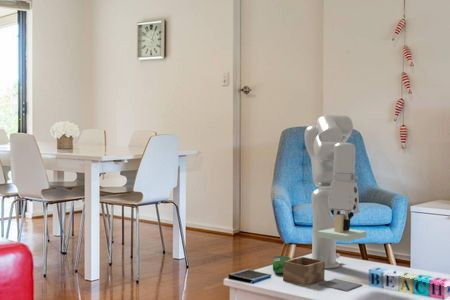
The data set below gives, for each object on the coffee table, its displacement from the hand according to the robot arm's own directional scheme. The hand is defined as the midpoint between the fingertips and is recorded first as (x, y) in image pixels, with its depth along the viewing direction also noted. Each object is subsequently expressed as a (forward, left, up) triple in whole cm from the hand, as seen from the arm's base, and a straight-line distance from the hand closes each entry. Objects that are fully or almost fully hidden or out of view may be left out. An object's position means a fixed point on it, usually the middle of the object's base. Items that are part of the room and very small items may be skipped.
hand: (342, 229), depth 203 cm
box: (+4, -13, -20) cm, 24 cm away
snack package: (-2, -27, -21) cm, 34 cm away
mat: (0, 0, -20) cm, 20 cm away
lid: (0, 0, -3) cm, 3 cm away
